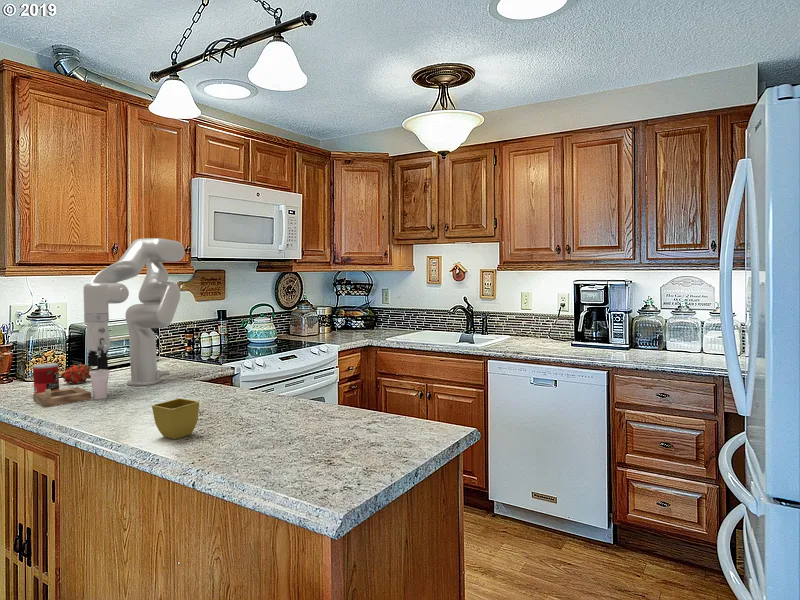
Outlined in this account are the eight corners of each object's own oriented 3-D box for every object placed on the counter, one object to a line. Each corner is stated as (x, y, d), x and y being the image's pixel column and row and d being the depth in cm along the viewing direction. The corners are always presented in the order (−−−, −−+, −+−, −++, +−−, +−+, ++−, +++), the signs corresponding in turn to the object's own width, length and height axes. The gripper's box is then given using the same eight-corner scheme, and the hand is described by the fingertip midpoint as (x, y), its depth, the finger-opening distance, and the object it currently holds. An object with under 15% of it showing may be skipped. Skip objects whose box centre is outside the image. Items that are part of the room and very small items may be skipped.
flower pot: (172, 443, 140) (171, 408, 140) (152, 438, 145) (150, 404, 144) (201, 434, 147) (200, 401, 147) (181, 429, 152) (179, 398, 152)
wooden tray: (78, 393, 200) (77, 378, 199) (91, 399, 190) (90, 384, 190) (33, 400, 189) (32, 385, 189) (44, 407, 180) (43, 391, 179)
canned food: (50, 396, 195) (49, 366, 195) (29, 397, 195) (27, 366, 195) (64, 392, 203) (63, 362, 202) (43, 392, 203) (41, 363, 202)
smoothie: (115, 396, 194) (113, 357, 193) (99, 400, 188) (98, 360, 187) (101, 395, 196) (99, 357, 195) (85, 399, 190) (84, 359, 189)
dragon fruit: (97, 384, 223) (63, 393, 215) (91, 370, 227) (58, 379, 220) (96, 370, 218) (62, 378, 211) (90, 356, 223) (56, 364, 215)
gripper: (117, 318, 187) (118, 368, 187) (99, 317, 199) (100, 364, 199) (93, 320, 182) (94, 371, 182) (76, 318, 194) (77, 366, 194)
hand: (97, 367), depth 191 cm, fingers open, 9 cm apart
